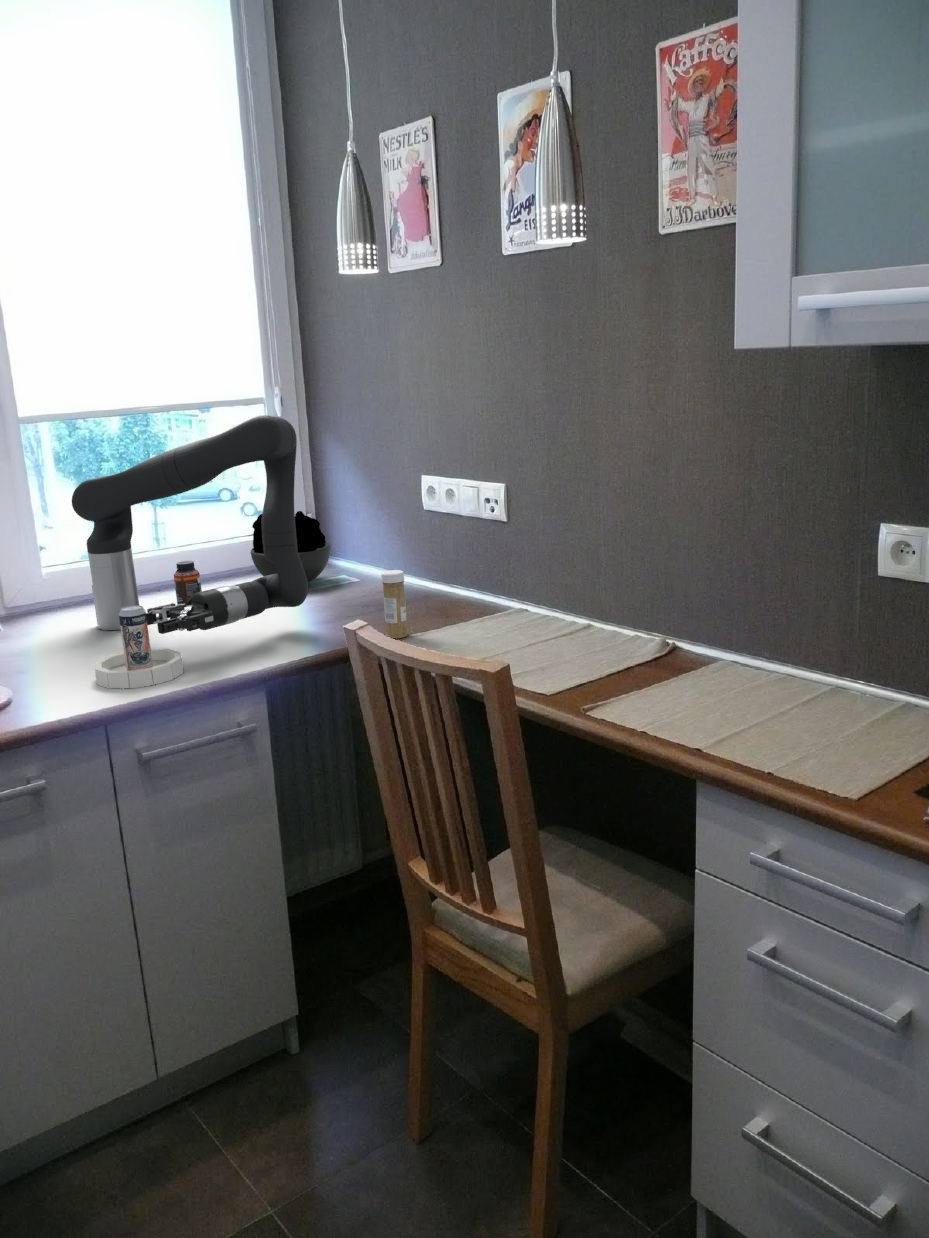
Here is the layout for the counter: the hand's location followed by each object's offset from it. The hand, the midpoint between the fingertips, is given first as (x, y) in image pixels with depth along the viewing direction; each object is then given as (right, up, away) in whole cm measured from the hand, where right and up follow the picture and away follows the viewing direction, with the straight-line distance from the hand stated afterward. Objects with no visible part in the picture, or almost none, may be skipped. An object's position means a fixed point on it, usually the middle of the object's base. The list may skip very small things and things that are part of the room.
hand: (146, 625), depth 193 cm
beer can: (-1, -9, 0) cm, 9 cm away
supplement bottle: (-5, +3, +52) cm, 52 cm away
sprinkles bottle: (+46, -2, +18) cm, 49 cm away
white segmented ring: (-1, -9, 0) cm, 9 cm away
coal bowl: (+16, +9, +71) cm, 73 cm away
